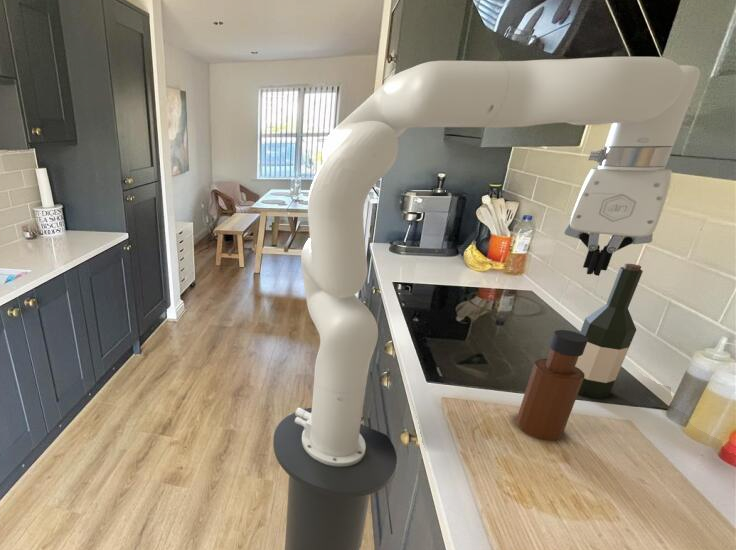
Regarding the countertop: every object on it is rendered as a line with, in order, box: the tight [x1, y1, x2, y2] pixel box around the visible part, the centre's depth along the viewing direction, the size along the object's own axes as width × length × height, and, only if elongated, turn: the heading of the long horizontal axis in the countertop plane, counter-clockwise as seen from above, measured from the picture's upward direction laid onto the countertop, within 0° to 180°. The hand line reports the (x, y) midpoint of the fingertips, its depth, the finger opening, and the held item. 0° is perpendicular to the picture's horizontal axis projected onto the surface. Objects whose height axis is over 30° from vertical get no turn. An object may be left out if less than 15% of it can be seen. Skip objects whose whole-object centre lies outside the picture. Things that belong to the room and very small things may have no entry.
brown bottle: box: [515, 348, 584, 441], centre depth 77 cm, size 7×7×18 cm
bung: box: [549, 329, 588, 356], centre depth 73 cm, size 5×5×6 cm
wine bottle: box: [575, 263, 644, 399], centre depth 87 cm, size 8×8×30 cm
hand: (592, 272), depth 68 cm, fingers closed
